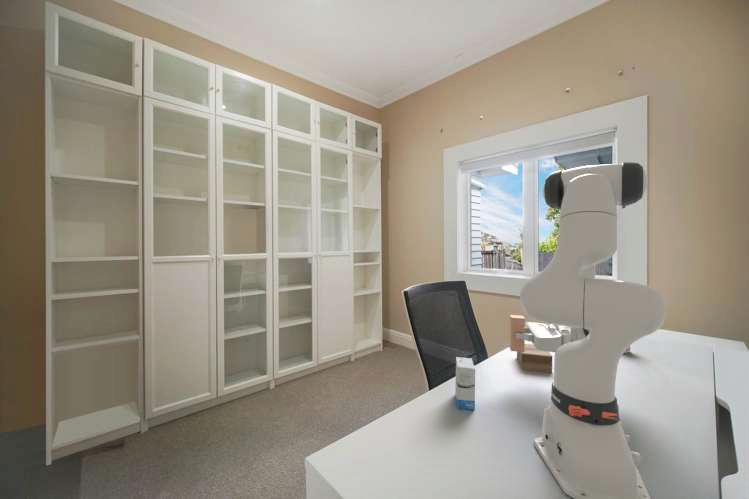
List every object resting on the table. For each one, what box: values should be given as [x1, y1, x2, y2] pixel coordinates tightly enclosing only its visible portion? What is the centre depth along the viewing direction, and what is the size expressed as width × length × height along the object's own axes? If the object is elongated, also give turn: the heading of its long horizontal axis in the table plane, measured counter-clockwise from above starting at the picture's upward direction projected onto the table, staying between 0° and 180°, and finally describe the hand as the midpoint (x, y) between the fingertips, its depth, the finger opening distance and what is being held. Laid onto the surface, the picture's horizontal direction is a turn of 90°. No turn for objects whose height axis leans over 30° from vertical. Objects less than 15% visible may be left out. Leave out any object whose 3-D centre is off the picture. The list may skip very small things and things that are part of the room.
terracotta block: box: [508, 314, 526, 353], centre depth 100 cm, size 4×4×11 cm
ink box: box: [454, 356, 476, 411], centre depth 88 cm, size 8×5×12 cm, turn 168°
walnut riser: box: [516, 343, 553, 374], centre depth 116 cm, size 12×10×6 cm
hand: (514, 332), depth 100 cm, fingers closed on terracotta block, 4 cm apart
